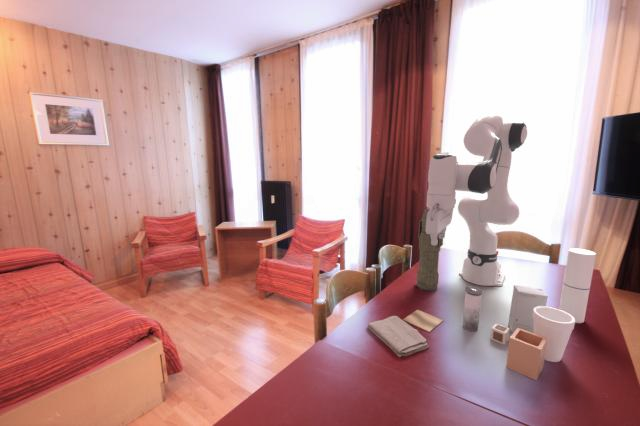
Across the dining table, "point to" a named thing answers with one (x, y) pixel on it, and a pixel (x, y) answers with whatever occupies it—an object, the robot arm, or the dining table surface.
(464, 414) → the dining table surface
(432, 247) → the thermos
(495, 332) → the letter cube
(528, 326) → the skincare box
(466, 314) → the tin canister
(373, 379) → the dining table surface
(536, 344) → the terracotta planter
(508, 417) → the dining table surface
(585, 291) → the cylindrical container
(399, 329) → the washcloth
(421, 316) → the cork coaster
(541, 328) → the foam cup
